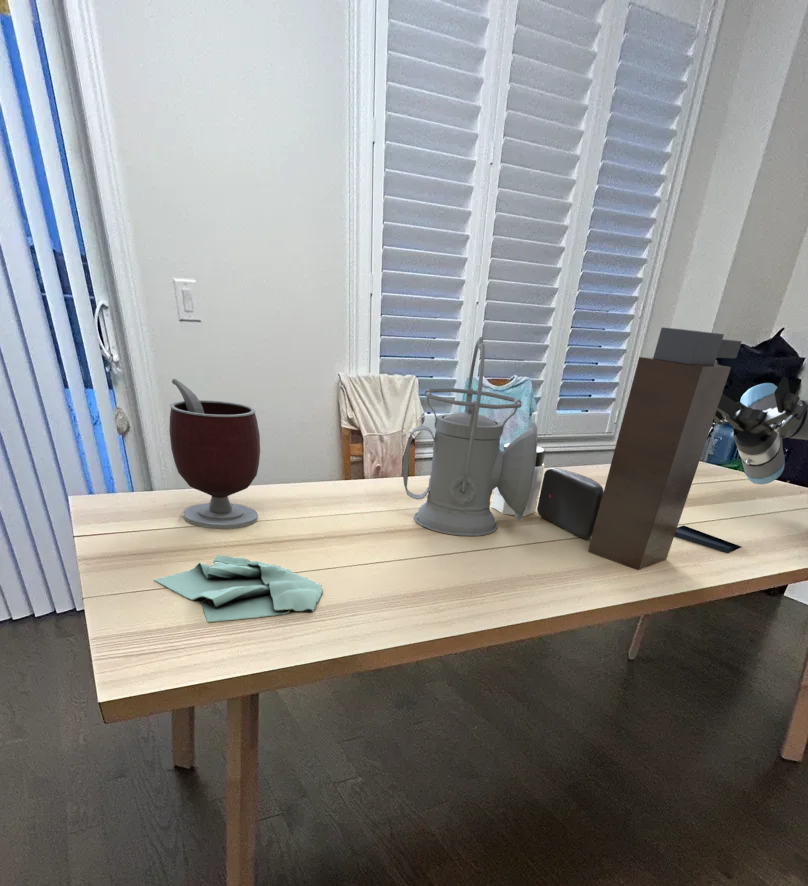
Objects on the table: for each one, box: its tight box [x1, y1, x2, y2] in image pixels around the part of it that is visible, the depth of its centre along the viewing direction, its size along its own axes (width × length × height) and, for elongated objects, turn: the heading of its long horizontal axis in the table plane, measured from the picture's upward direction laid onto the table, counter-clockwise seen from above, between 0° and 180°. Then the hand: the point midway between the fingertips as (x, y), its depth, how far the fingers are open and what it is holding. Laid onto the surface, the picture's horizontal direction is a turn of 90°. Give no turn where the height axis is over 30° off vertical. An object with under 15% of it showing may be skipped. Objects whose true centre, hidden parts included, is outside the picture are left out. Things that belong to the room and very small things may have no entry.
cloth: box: [153, 554, 324, 623], centre depth 84 cm, size 20×22×2 cm
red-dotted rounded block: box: [536, 467, 604, 540], centre depth 120 cm, size 16×5×9 cm, turn 26°
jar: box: [491, 442, 546, 518], centre depth 126 cm, size 9×8×12 cm
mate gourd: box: [169, 378, 261, 530], centre depth 103 cm, size 16×14×20 cm
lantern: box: [402, 336, 538, 537], centre depth 110 cm, size 21×22×30 cm
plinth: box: [587, 356, 732, 571], centre depth 103 cm, size 10×10×30 cm
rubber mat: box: [674, 524, 742, 555], centre depth 126 cm, size 16×12×1 cm
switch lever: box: [653, 327, 742, 365], centre depth 97 cm, size 20×6×4 cm, turn 134°
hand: (741, 378), depth 110 cm, fingers open, 13 cm apart
